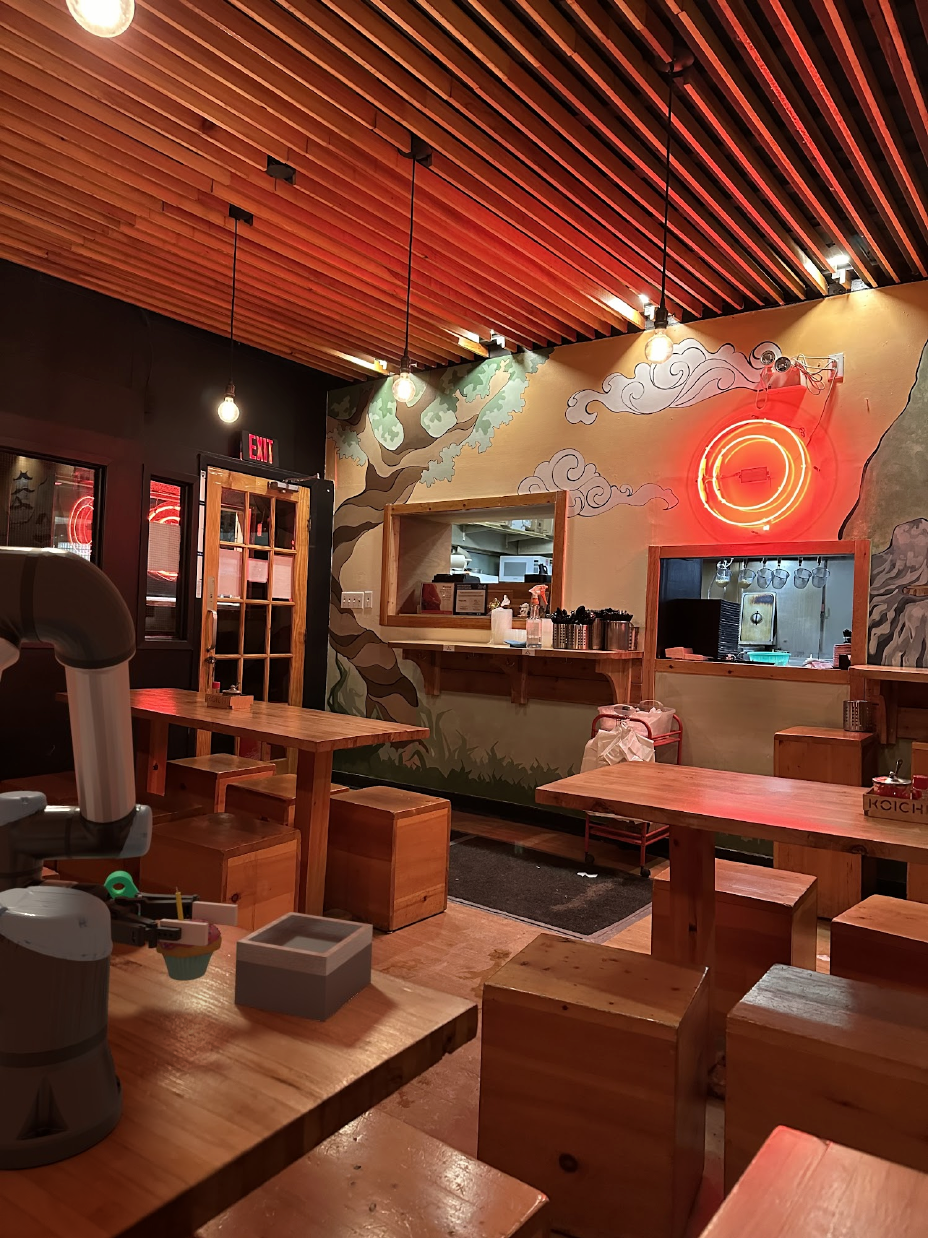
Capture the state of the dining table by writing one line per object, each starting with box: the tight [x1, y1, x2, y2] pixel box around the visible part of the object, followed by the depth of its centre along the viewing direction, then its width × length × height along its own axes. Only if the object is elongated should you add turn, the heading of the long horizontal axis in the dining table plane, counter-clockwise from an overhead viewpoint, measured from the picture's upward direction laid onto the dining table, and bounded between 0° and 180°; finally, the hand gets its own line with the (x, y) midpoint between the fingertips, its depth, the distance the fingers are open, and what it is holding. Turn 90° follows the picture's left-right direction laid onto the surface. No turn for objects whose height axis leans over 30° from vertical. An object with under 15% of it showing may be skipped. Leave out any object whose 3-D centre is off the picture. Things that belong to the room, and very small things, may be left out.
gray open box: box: [234, 931, 373, 1023], centre depth 121 cm, size 14×14×6 cm
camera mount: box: [103, 870, 156, 921], centre depth 145 cm, size 12×8×10 cm, turn 110°
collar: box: [235, 911, 374, 976], centre depth 122 cm, size 14×14×2 cm
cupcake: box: [155, 886, 223, 982], centre depth 116 cm, size 9×8×12 cm
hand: (221, 924), depth 115 cm, fingers closed on cupcake, 8 cm apart
